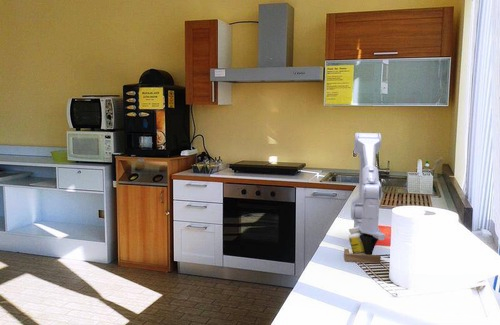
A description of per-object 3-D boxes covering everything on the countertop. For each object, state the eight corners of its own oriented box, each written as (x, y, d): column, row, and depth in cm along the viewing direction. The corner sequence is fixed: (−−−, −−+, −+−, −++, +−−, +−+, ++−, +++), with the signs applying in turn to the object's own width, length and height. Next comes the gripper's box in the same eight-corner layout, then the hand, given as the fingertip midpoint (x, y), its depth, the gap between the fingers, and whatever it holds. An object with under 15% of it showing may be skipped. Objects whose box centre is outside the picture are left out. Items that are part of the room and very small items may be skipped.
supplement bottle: (350, 256, 176) (343, 229, 177) (362, 253, 178) (355, 226, 179) (359, 256, 171) (352, 228, 172) (371, 252, 173) (364, 225, 174)
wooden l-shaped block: (344, 255, 176) (344, 248, 176) (378, 257, 174) (378, 250, 174) (345, 261, 169) (345, 254, 169) (380, 263, 167) (380, 256, 167)
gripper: (392, 221, 165) (390, 259, 167) (367, 212, 179) (365, 248, 180) (375, 222, 163) (374, 261, 164) (351, 213, 176) (349, 250, 177)
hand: (368, 255), depth 172 cm, fingers closed
